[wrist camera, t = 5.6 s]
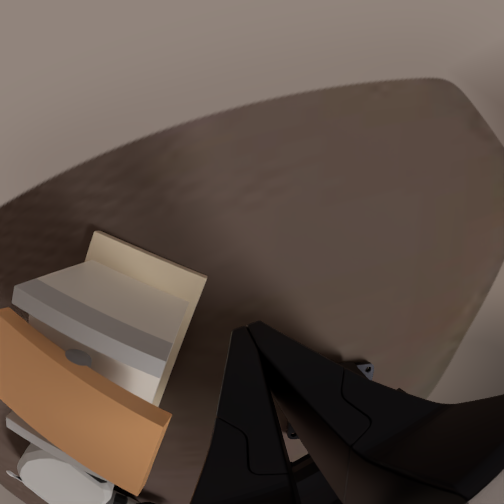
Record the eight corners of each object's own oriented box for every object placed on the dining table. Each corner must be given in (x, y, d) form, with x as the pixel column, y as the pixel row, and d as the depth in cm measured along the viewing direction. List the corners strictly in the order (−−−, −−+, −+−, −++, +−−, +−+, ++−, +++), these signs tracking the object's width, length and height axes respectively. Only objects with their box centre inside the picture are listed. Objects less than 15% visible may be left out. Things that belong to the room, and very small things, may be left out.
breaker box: (207, 276, 20) (195, 324, 11) (155, 415, 21) (128, 507, 11) (99, 230, 19) (14, 239, 10) (64, 373, 20) (1, 441, 10)
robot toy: (190, 498, 23) (71, 407, 20) (191, 532, 19) (53, 440, 16) (117, 523, 23) (15, 446, 20) (113, 550, 19) (-1, 472, 16)
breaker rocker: (178, 404, 11) (163, 427, 9) (151, 474, 11) (137, 496, 10) (19, 304, 12) (-6, 310, 10) (12, 379, 12) (-9, 390, 10)
